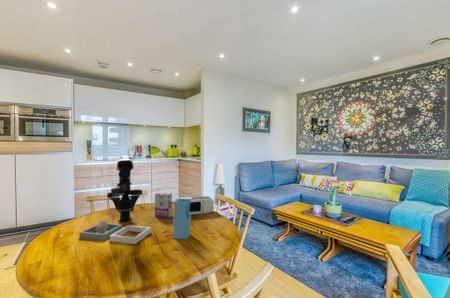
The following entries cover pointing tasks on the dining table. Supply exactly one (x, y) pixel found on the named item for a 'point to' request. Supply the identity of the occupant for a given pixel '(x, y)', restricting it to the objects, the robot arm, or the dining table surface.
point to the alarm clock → (200, 204)
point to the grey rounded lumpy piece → (102, 227)
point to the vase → (182, 219)
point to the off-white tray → (133, 240)
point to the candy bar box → (163, 205)
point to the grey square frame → (97, 236)
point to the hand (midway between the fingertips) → (124, 209)
